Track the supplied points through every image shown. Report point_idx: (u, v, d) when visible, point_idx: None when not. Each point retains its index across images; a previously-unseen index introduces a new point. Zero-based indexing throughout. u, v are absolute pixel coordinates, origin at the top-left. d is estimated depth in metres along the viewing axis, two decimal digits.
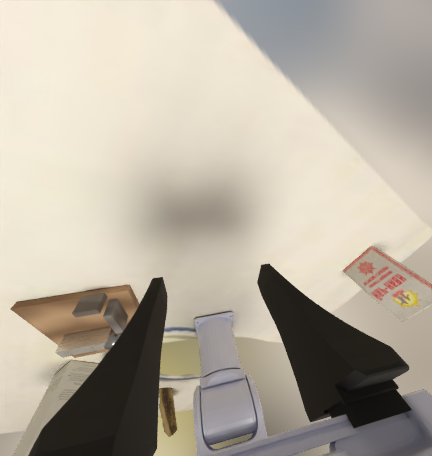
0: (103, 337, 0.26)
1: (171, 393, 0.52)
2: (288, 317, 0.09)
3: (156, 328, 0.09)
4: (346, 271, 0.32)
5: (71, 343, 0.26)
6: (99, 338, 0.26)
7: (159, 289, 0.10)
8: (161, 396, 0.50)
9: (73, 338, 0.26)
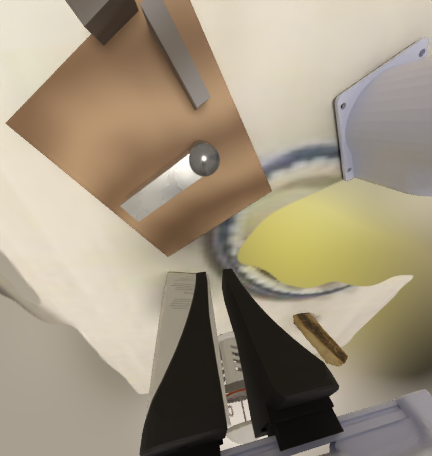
0: (181, 157, 0.13)
1: (312, 318, 0.38)
2: (239, 326, 0.09)
3: None
4: None
5: (138, 190, 0.14)
6: (176, 162, 0.13)
7: (207, 282, 0.10)
8: (301, 322, 0.37)
9: (139, 188, 0.15)
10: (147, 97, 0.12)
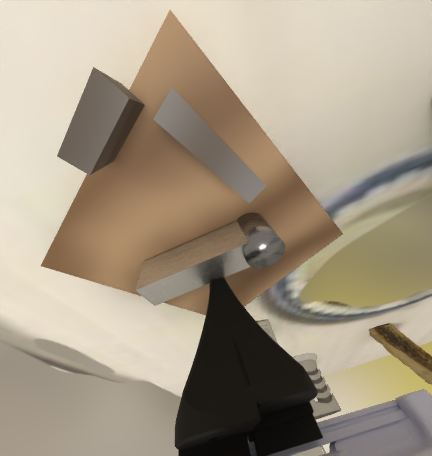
0: (232, 238, 0.10)
1: (396, 330, 0.31)
2: None
3: None
4: None
5: (163, 268, 0.10)
6: (223, 243, 0.10)
7: (221, 280, 0.10)
8: (382, 338, 0.31)
9: (163, 260, 0.11)
10: (175, 193, 0.09)
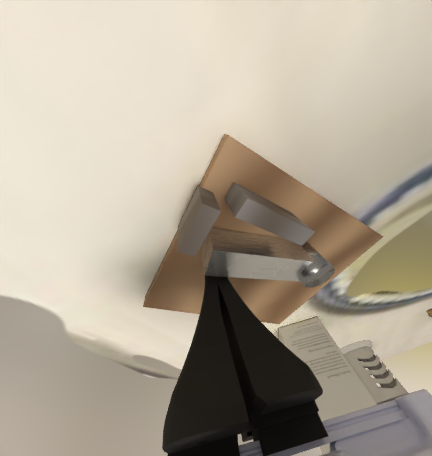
0: (299, 252, 0.11)
1: None
2: (228, 328, 0.09)
3: None
4: None
5: (238, 244, 0.10)
6: (292, 251, 0.11)
7: (216, 281, 0.10)
8: None
9: (234, 237, 0.11)
10: None
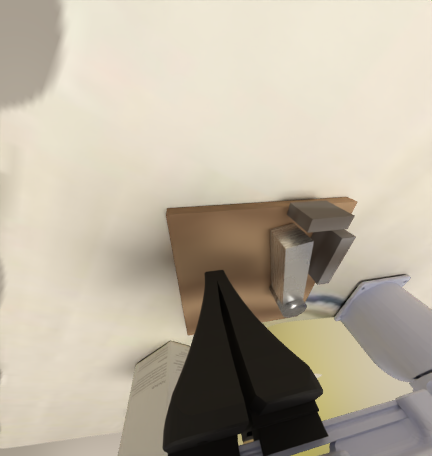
0: None
1: None
2: (228, 328, 0.09)
3: None
4: None
5: None
6: None
7: (216, 281, 0.10)
8: None
9: None
10: None
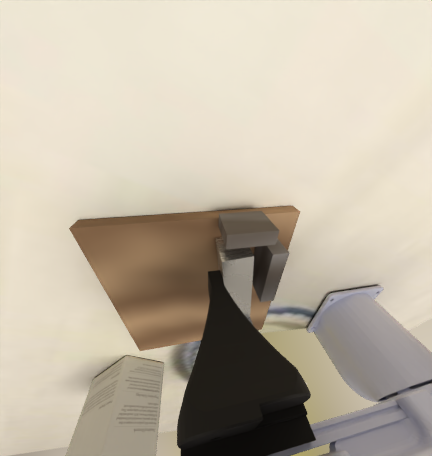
0: None
1: None
2: None
3: None
4: None
5: None
6: None
7: (222, 280, 0.10)
8: None
9: None
10: None
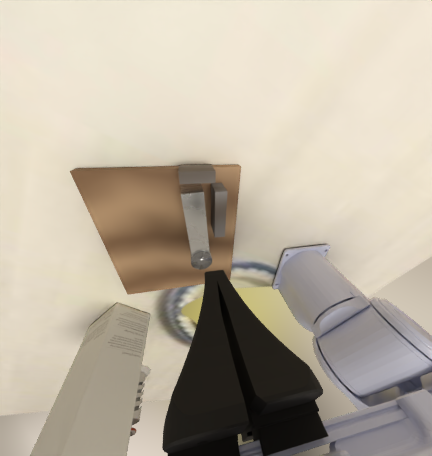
0: None
1: None
2: (228, 328, 0.09)
3: None
4: None
5: None
6: None
7: (216, 281, 0.10)
8: None
9: None
10: None
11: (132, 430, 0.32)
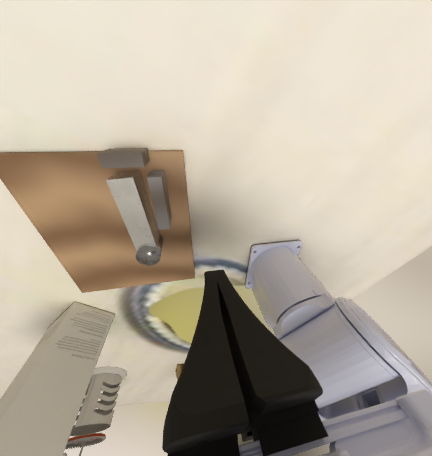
0: (156, 237, 0.17)
1: None
2: (228, 328, 0.09)
3: None
4: None
5: (142, 195, 0.14)
6: (154, 233, 0.17)
7: (216, 281, 0.10)
8: (180, 373, 0.41)
9: (143, 191, 0.15)
10: None
11: (100, 436, 0.30)
